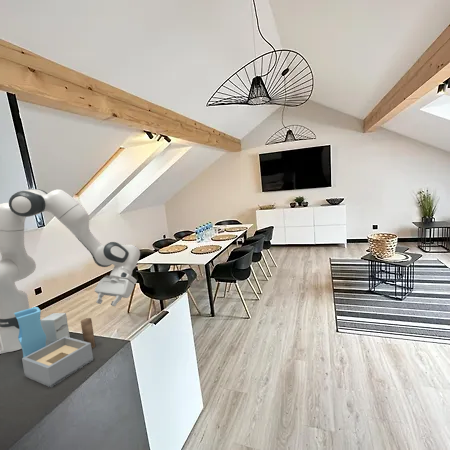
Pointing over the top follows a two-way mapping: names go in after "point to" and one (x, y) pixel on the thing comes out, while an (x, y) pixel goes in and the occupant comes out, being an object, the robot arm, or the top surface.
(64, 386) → the top surface
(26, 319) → the blue curved piece
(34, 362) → the bore box
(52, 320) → the supplement box
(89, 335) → the peg
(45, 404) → the top surface
